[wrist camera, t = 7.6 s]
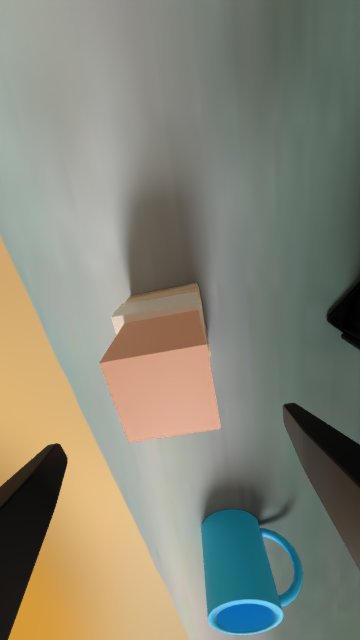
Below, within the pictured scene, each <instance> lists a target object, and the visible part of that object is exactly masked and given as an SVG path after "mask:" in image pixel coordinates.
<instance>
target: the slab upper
mask: <svg viewBox="0 0 360 640" xmlns="http://www.w3.org/2000/svg"><path fill="white" fill-rule="evenodd" d="M194 310H198V311H199V315H200V319H201V323H202V327H203V331H204V335H205V339H206V333H205V326H204V319H203V312H202V305H201V300H200V297H199V294H198V292H192V293H186V294H180V295H174V296H168V297H162V298H156V299H150V300H144V301H137V302H131V303H125V304H121V306H120V307H119V308H118V309H117V310H116V312H115V313H114V314H113V315H112V316H111V319H112V322H113V326H114V329H115V333H116V336H117V334H118V333H119V331H120V329H121V328H122V326H123V325H124V323H129V322H135V321H140V320H146V319H151V318H156V317H162V316H167V315H173V314H178V313H183V312H189V311H194ZM206 343H207V340H206ZM207 349H208V348H207Z"/></svg>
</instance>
